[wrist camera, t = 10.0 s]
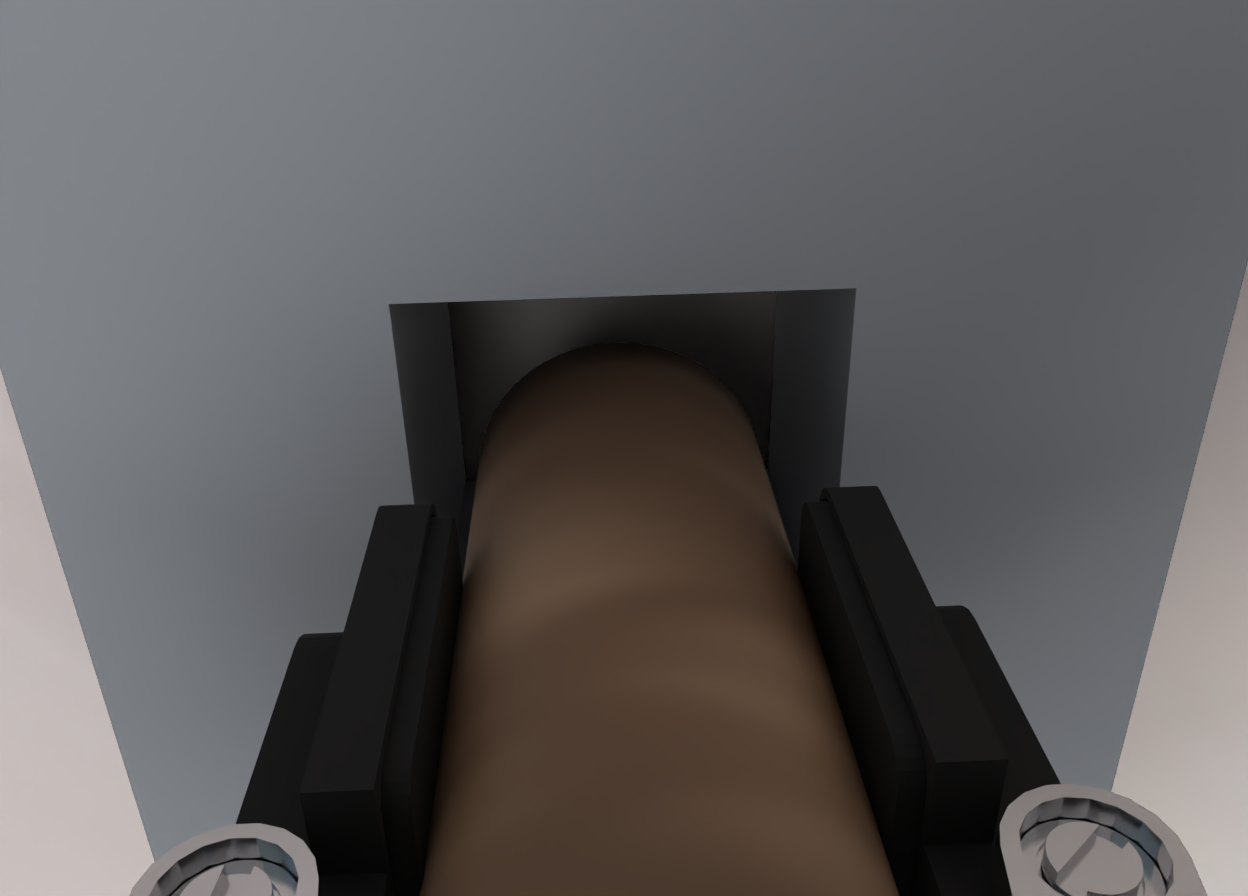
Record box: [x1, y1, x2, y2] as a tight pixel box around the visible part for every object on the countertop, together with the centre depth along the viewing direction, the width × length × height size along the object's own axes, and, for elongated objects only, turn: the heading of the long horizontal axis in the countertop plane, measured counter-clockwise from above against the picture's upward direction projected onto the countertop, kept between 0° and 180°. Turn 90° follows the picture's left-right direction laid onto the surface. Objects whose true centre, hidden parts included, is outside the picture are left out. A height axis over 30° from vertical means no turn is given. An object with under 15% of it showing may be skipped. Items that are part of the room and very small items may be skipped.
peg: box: [419, 342, 899, 896], centre depth 10 cm, size 4×4×10 cm
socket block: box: [0, 0, 1248, 861], centre depth 16 cm, size 14×14×5 cm
